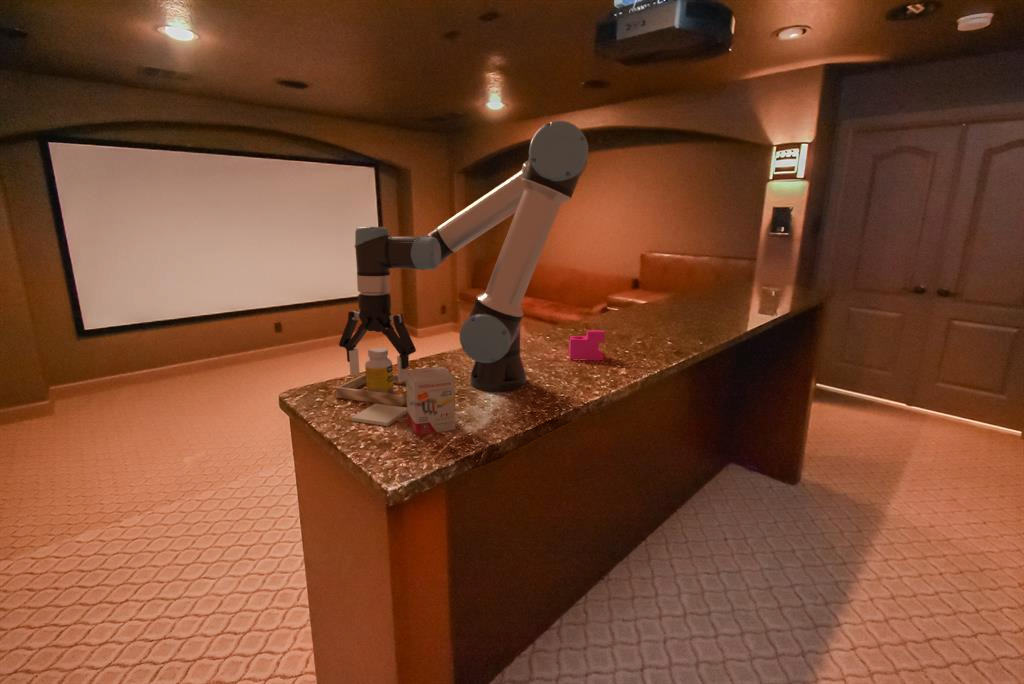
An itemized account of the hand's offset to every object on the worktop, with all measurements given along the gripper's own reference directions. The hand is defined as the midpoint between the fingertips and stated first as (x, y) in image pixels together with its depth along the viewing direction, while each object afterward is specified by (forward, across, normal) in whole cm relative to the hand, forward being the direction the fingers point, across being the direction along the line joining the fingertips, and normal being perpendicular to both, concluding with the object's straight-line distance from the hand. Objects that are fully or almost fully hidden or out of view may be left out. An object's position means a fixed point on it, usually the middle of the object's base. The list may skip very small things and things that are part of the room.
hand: (378, 377), depth 119 cm
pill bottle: (+5, 0, 0) cm, 5 cm away
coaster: (+4, -8, +12) cm, 15 cm away
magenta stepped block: (+4, -43, -52) cm, 68 cm away
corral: (+4, 0, -2) cm, 5 cm away
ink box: (+4, -21, +13) cm, 25 cm away
